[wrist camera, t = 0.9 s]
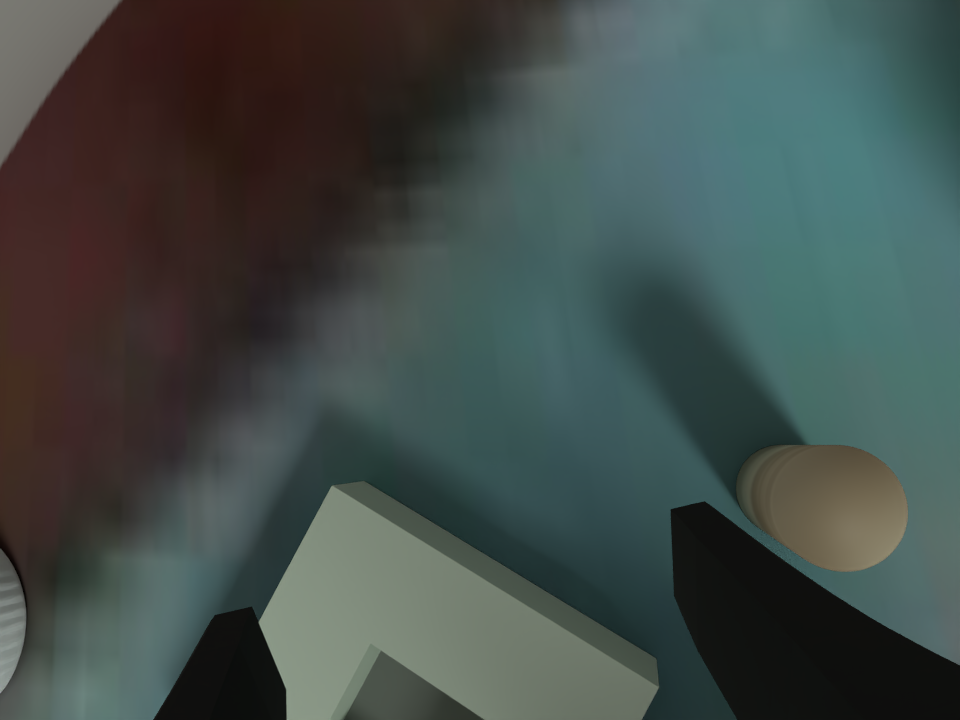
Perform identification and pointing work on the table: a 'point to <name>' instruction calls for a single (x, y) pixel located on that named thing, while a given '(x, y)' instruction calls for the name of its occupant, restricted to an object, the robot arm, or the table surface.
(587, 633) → the block
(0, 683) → the ramekin
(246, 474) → the table surface
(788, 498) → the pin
